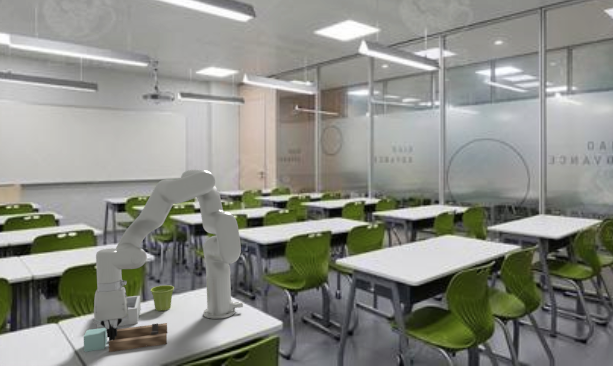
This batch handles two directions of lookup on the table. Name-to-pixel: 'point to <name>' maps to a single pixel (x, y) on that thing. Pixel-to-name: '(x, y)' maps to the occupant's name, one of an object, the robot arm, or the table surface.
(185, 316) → the table surface
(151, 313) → the table surface
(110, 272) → the robot arm
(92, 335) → the block
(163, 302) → the plant pot
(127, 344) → the wooden rail pair
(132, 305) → the holder
